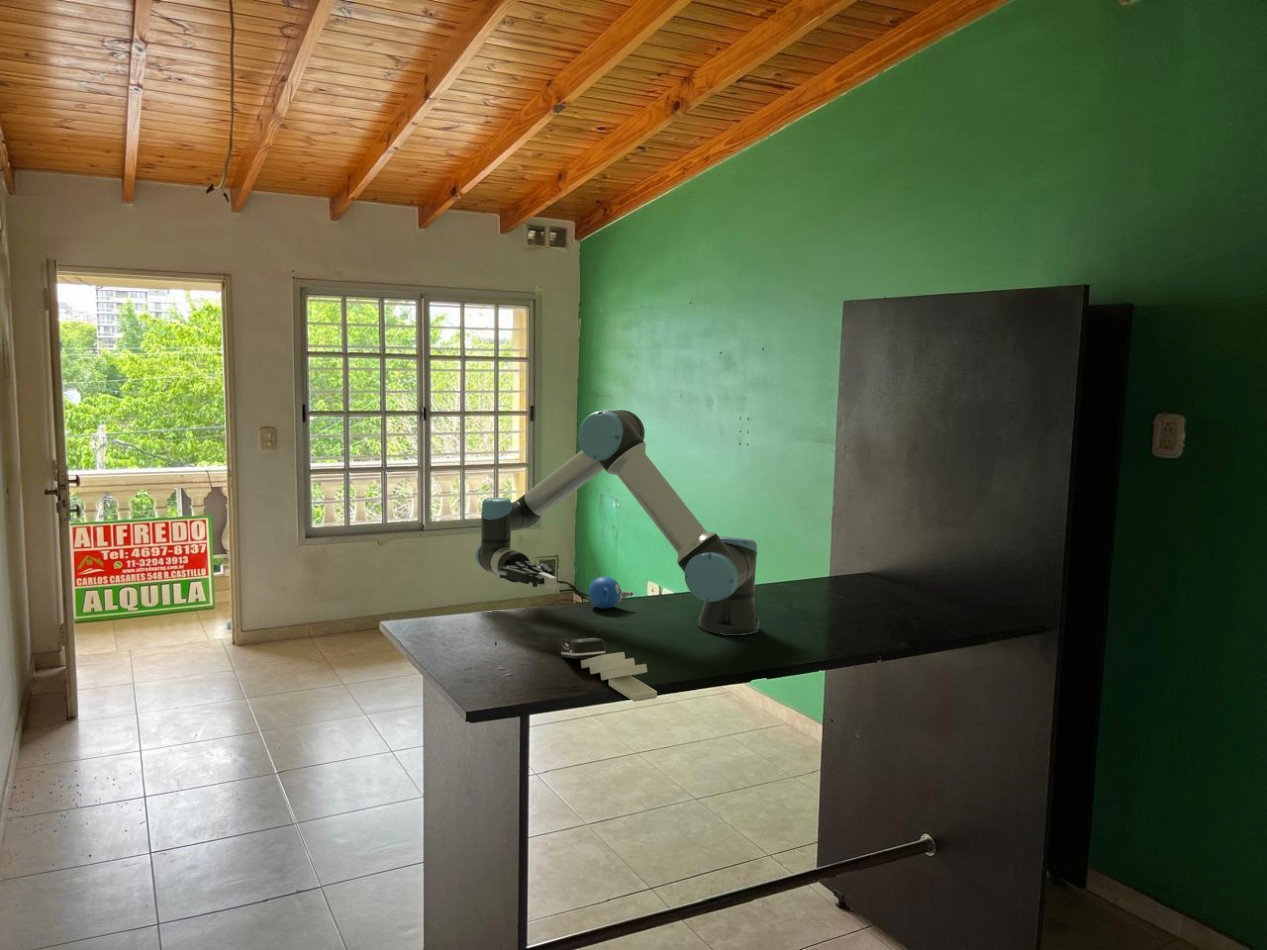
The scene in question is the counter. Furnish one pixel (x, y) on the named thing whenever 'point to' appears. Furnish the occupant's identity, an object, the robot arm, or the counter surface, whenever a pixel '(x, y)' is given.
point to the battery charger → (583, 648)
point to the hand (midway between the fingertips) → (553, 583)
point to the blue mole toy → (606, 592)
